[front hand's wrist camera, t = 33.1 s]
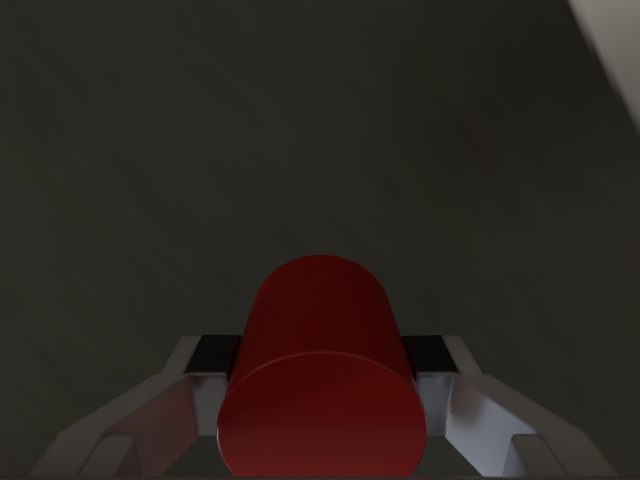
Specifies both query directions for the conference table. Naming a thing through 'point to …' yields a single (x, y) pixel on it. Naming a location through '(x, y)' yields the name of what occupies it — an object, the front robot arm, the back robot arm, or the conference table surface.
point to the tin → (321, 379)
